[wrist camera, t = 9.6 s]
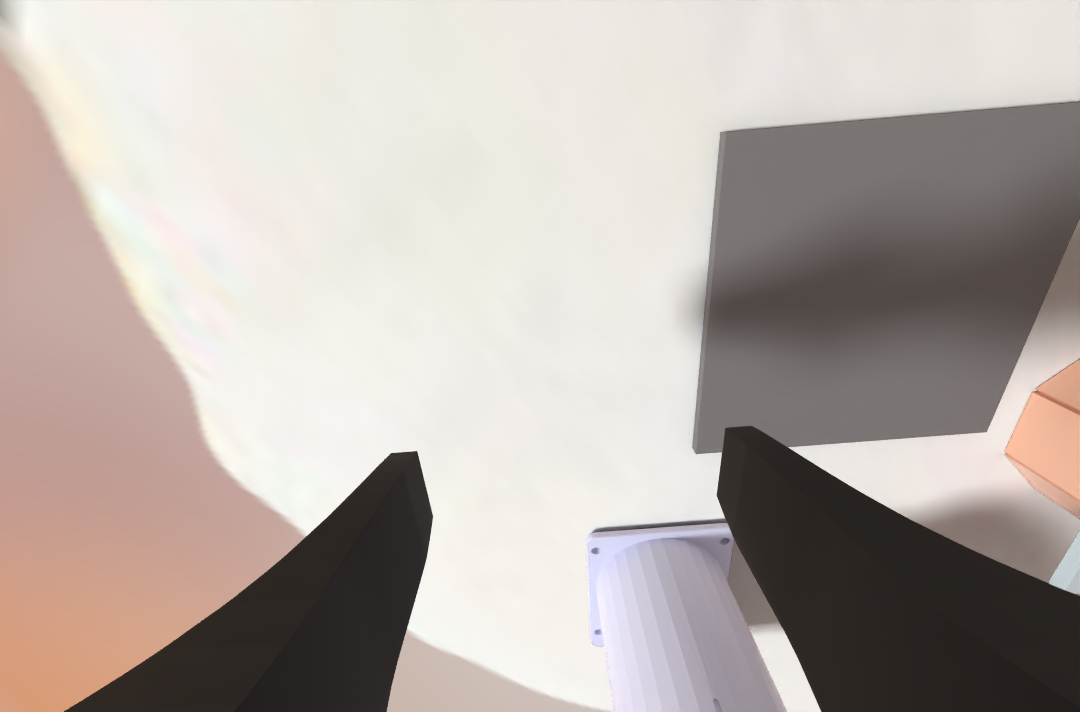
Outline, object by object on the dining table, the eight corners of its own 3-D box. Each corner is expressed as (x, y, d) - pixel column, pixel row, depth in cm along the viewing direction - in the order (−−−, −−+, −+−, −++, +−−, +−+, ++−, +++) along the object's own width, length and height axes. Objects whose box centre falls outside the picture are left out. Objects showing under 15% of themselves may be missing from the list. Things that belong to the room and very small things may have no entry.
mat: (977, 426, 22) (986, 432, 21) (692, 447, 22) (695, 453, 21) (1114, 99, 16) (1131, 97, 15) (720, 132, 16) (726, 132, 15)
